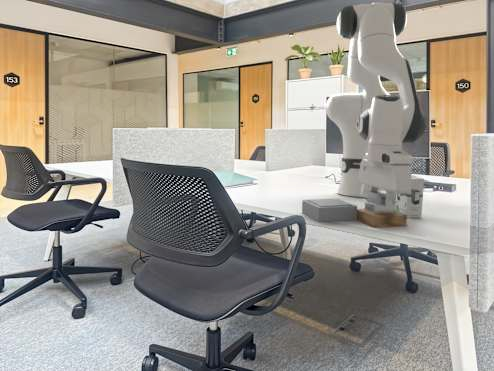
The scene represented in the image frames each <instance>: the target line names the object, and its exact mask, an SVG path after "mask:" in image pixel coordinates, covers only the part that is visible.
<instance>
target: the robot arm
mask: <svg viewBox="0 0 494 371" xmlns="http://www.w3.org/2000/svg"><path fill="white" fill-rule="evenodd" d="M407 17H408V15H407V10H406V8H405V6H404V5H403V4H401V3H397V2H392V3H389V2H388V3H386V2H372V3H364V4H358V5H357V4H356V5H353V4H351V5H347V6H343V7H342V9H340V11H339V14H338V16H337V19H336V29H337V31H338V35H339V36H340V38H342V39H345V40H350V43H349V51H348V63H347V77H348V79H349V80H350V81H351V82H352V83H353V84H354V85H357V86H359V87H361V88H362V89H363V91H362V92H343V93H336V94H332V95H331V96H329V98H328V99H327V102H326V103H325V112H326V115H327V117H328V118H329V119H330V121H332V122H333V123H334V124H335V125H336V126H337V127H338V128H339V131H340V133H341V137H342V147H343V148H342V150H343V151H342V158H341V162H340V164H341V165H340V167H341V168H340V169H341V170H340V171H341V176H340V182H339V186H338V188H337V191H336V193H337V194H339V195H342V196H347V197H358V198H364V199H365V198H366V199H367V191H386V195H387V196H386V199H385V200H383V206H385V207H391V206H392V200H393V199H394V197H395V195H396V193H397V194H404V193H408V192H409V190H410V188H411V178H412V175H413V174H412V173H413V172H412V171H413V170H412V167H411V165H412V164H413V163H414V157H413V155H411V154H410V153H408V152H407V151H406V150H404V149H402V148H403V147H402V146H403V144H409V145H412V144H415V143H416V142H418V141H419V140H420V139H422V138H423V137H424V135H425V133H426V118H425V115H424V112H423V110H422V107H421V104H420V99H419V97H418V96H419V95H418V92H417V88H416V84H415V83H416V82H415V79H414V74H413V72H412V71H413V70H412V67H411V65H410V62H409V60H408V59H407V58H406V57H404V56H403V55H402V53H401V52H400V51H399V49H398V46H397V43H396V42H397V40H396V37H398V36H400V35H401V34H402V33H403V32H404V31H405V28H406V25H407V20H408V18H407ZM381 77H382V78H385V79H387V80H390V81H391V82H393V84H395V86H396V87H397V89H398V94H399V96H397V95H391V94H390V93H388V92H387V91H386V89H385V88H384V87H383V85H382V82H381Z"/></svg>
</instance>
